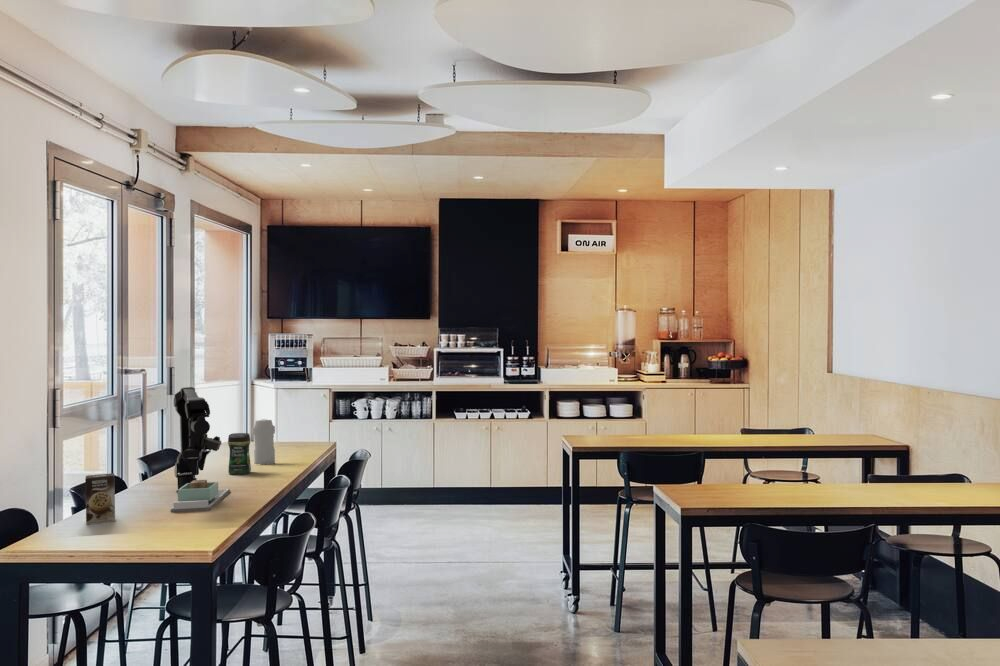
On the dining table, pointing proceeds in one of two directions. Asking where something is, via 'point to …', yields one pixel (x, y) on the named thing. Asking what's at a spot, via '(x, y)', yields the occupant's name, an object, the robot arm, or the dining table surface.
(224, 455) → the dining table surface
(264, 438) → the tall pale column
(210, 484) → the sage green storage bin
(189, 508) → the rail board
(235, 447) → the coffee jar
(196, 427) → the robot arm
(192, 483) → the block
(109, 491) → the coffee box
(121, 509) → the dining table surface
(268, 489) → the dining table surface
